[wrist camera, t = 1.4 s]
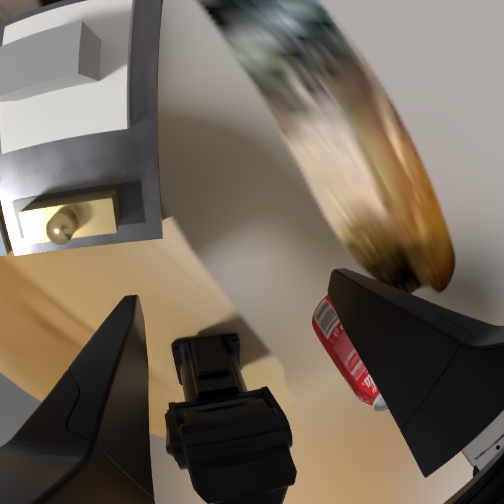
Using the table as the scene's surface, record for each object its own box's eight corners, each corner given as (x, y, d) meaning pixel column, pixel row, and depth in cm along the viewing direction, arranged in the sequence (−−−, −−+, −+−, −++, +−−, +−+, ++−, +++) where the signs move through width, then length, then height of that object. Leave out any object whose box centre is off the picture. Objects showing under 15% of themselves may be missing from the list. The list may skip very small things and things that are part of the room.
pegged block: (120, 220, 16) (113, 242, 14) (36, 231, 15) (19, 253, 12) (116, 188, 15) (108, 205, 13) (30, 202, 14) (10, 220, 11)
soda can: (356, 324, 32) (414, 397, 22) (303, 337, 31) (356, 425, 21) (370, 273, 29) (446, 347, 19) (312, 284, 27) (384, 378, 17)
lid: (129, 127, 14) (114, 135, 10) (10, 150, 12) (-35, 170, 8) (135, 0, 10) (126, -39, 6) (13, 30, 8) (-29, 14, 4)
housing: (162, 220, 20) (162, 238, 18) (29, 237, 17) (14, 256, 15) (162, 0, 13) (163, -16, 10) (15, 32, 10) (-4, 24, 7)
